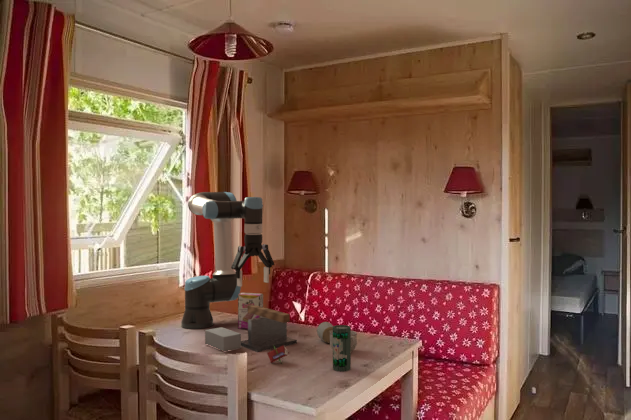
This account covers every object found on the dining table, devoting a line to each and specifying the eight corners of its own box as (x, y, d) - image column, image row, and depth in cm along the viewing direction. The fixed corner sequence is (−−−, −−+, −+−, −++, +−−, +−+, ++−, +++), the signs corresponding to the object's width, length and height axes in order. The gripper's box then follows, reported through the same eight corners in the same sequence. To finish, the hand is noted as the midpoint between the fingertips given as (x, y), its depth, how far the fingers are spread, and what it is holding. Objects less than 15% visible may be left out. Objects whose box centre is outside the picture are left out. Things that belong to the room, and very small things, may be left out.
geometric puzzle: (265, 360, 194) (278, 342, 195) (261, 355, 200) (274, 337, 201) (280, 371, 195) (293, 352, 197) (276, 365, 202) (289, 347, 203)
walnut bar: (247, 312, 232) (247, 305, 232) (253, 311, 234) (253, 304, 234) (283, 322, 213) (283, 315, 213) (289, 321, 215) (289, 314, 214)
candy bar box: (237, 328, 251) (237, 294, 250) (241, 326, 255) (241, 292, 255) (259, 330, 248) (259, 295, 247) (263, 327, 252) (263, 293, 252)
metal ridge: (238, 345, 223) (238, 317, 222) (277, 336, 236) (277, 311, 235) (257, 352, 212) (257, 323, 212) (296, 343, 225) (296, 316, 225)
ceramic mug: (322, 344, 223) (322, 326, 223) (316, 339, 231) (316, 322, 231) (346, 343, 226) (346, 325, 226) (339, 338, 234) (339, 320, 234)
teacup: (325, 349, 216) (325, 329, 216) (350, 346, 220) (350, 327, 220) (339, 358, 203) (339, 338, 203) (365, 355, 207) (365, 335, 207)
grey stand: (205, 344, 224) (205, 330, 224) (221, 341, 229) (221, 327, 229) (223, 352, 212) (223, 337, 212) (240, 348, 217) (240, 333, 217)
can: (329, 368, 191) (329, 327, 191) (341, 365, 195) (341, 324, 195) (342, 372, 187) (342, 329, 186) (353, 368, 191) (353, 327, 191)
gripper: (233, 236, 212) (232, 289, 213) (282, 232, 229) (282, 282, 230) (222, 234, 218) (222, 286, 219) (271, 231, 234) (271, 279, 235)
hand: (253, 284), depth 224 cm, fingers open, 13 cm apart
